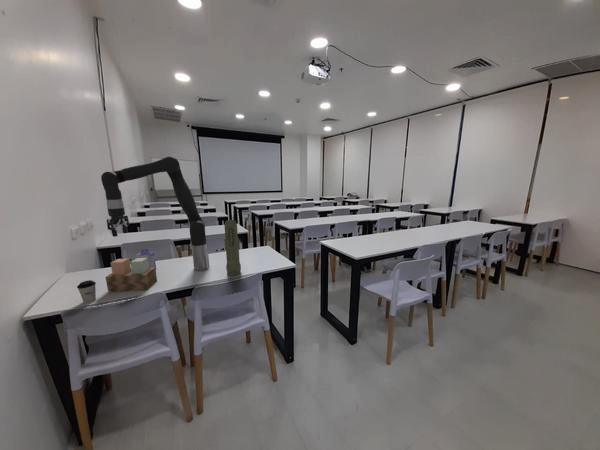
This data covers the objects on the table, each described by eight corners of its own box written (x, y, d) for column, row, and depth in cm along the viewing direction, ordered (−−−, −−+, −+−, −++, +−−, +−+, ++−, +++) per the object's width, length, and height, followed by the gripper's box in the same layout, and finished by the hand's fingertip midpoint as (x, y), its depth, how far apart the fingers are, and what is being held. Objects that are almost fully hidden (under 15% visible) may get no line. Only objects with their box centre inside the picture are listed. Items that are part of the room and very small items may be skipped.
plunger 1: (131, 274, 131) (129, 258, 129) (125, 279, 126) (122, 262, 124) (120, 275, 131) (117, 258, 129) (113, 279, 125) (110, 262, 123)
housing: (157, 281, 136) (155, 267, 135) (147, 290, 126) (145, 274, 124) (121, 283, 134) (119, 268, 132) (108, 292, 123) (105, 276, 122)
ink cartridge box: (156, 268, 157) (153, 248, 154) (155, 270, 152) (152, 250, 150) (139, 270, 153) (136, 250, 150) (137, 273, 148) (134, 252, 145)
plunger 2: (150, 273, 133) (147, 257, 131) (144, 278, 127) (141, 261, 125) (139, 274, 132) (136, 258, 130) (132, 278, 126) (130, 261, 124)
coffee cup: (77, 302, 113) (73, 284, 111) (93, 296, 119) (90, 278, 117) (85, 305, 110) (81, 286, 108) (102, 298, 117) (98, 280, 115)
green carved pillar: (239, 269, 154) (236, 218, 148) (242, 275, 144) (238, 221, 137) (226, 271, 151) (222, 219, 144) (227, 278, 140) (223, 222, 134)
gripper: (113, 208, 124) (118, 237, 127) (130, 205, 137) (134, 231, 141) (99, 209, 123) (104, 237, 126) (117, 206, 137) (122, 232, 140)
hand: (120, 234), depth 133 cm, fingers open, 8 cm apart
